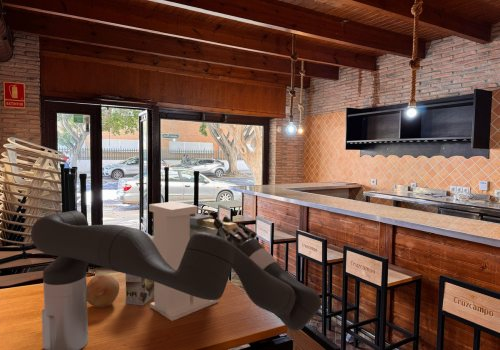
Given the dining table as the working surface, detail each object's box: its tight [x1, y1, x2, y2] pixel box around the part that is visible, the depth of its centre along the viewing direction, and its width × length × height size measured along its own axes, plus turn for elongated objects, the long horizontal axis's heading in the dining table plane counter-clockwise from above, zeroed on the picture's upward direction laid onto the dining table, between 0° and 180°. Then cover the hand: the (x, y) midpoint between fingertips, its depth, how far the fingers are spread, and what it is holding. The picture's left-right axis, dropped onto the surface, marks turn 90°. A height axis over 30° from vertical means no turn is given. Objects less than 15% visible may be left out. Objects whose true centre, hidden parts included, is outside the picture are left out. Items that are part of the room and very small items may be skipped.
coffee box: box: [125, 274, 154, 307], centre depth 110 cm, size 9×6×16 cm
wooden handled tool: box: [190, 213, 238, 231], centre depth 104 cm, size 6×22×4 cm, turn 46°
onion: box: [86, 273, 120, 308], centre depth 105 cm, size 10×10×10 cm
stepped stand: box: [148, 200, 219, 322], centre depth 106 cm, size 17×12×32 cm
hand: (219, 219), depth 100 cm, fingers closed on wooden handled tool, 3 cm apart
